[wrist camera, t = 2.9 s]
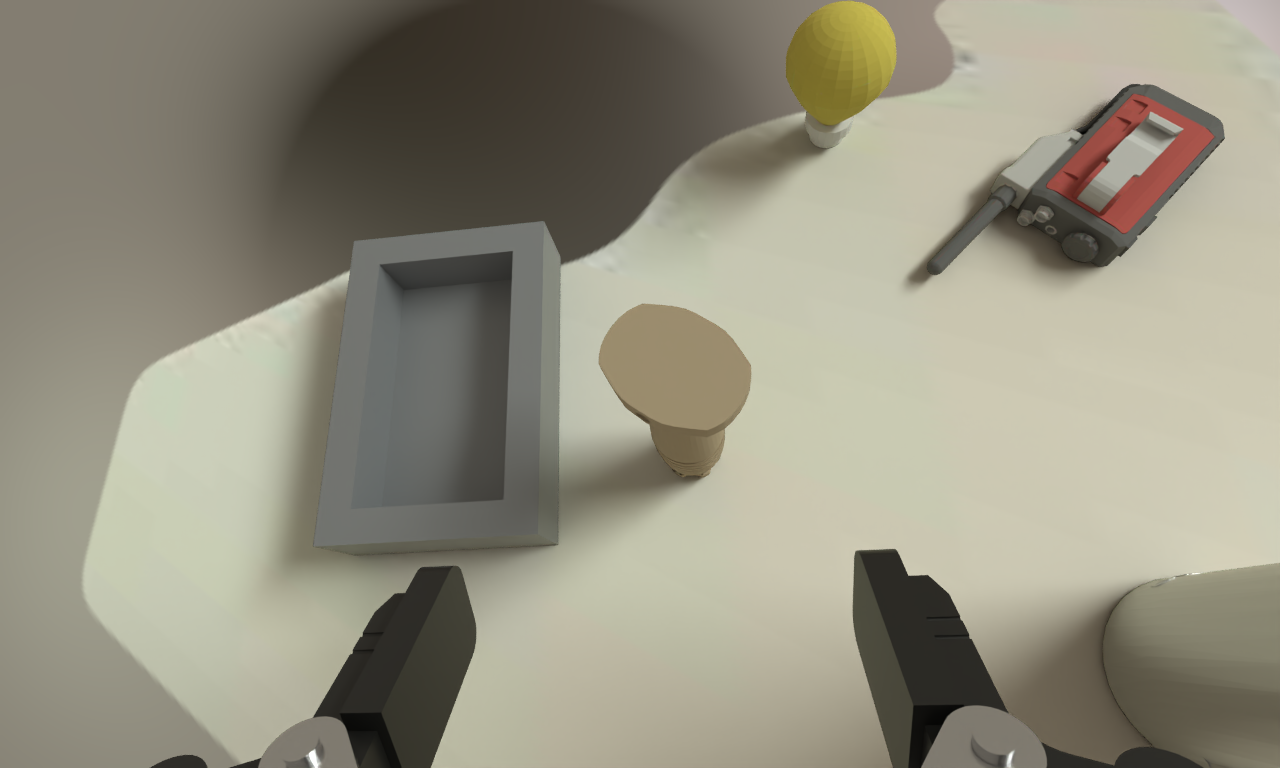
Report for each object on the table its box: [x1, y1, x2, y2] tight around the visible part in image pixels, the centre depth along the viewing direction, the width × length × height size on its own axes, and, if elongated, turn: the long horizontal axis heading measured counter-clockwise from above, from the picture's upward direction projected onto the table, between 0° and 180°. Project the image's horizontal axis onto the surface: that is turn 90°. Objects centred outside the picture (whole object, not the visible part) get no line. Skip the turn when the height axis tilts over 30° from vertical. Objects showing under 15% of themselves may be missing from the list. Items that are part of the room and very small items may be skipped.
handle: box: [599, 304, 751, 478], centre depth 35 cm, size 5×6×15 cm
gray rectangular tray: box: [313, 221, 560, 555], centre depth 43 cm, size 20×13×4 cm, turn 2°
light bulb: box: [786, 1, 896, 148], centre depth 44 cm, size 7×7×10 cm
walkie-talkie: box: [927, 84, 1225, 275], centre depth 42 cm, size 9×4×20 cm
